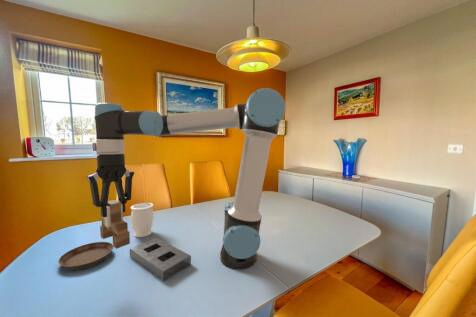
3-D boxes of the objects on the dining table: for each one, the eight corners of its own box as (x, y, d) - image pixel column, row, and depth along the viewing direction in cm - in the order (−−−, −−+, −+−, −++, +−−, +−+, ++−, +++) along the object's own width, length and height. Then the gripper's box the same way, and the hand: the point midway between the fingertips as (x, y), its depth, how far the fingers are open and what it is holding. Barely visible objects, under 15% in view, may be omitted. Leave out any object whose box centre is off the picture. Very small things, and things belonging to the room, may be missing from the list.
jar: (145, 239, 97) (144, 209, 96) (126, 237, 99) (125, 208, 98) (158, 230, 108) (157, 203, 106) (141, 228, 110) (140, 201, 108)
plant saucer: (45, 274, 72) (44, 266, 71) (80, 248, 89) (80, 242, 89) (97, 272, 73) (96, 264, 73) (121, 247, 91) (121, 241, 90)
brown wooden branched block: (129, 243, 64) (128, 204, 63) (116, 248, 61) (114, 207, 60) (113, 232, 72) (111, 197, 71) (100, 237, 68) (98, 200, 67)
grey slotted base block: (190, 264, 78) (190, 255, 78) (163, 281, 68) (163, 271, 68) (156, 245, 92) (156, 237, 92) (129, 256, 83) (129, 248, 82)
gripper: (131, 151, 73) (133, 214, 75) (76, 153, 60) (80, 229, 62) (141, 152, 68) (143, 219, 70) (84, 154, 55) (89, 236, 57)
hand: (114, 224), depth 66 cm, fingers closed on brown wooden branched block, 3 cm apart
